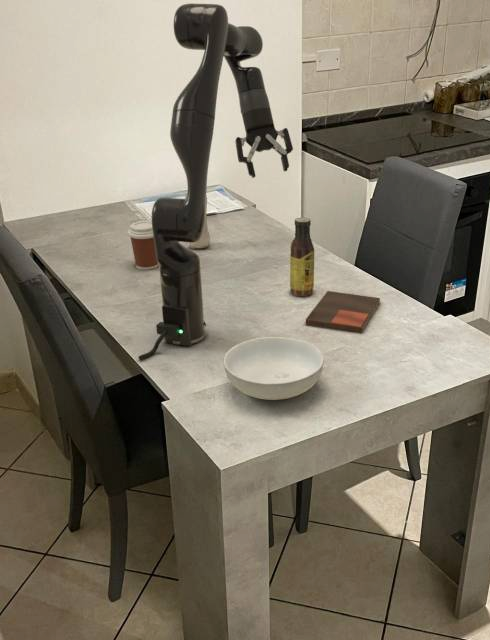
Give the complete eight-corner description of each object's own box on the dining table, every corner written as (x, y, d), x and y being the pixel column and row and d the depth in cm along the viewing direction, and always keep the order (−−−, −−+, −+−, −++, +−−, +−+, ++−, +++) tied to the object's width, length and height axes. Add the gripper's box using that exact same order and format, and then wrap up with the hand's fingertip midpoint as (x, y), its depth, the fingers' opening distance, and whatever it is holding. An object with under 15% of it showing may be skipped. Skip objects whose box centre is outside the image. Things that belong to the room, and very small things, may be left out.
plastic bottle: (213, 248, 239) (209, 182, 229) (191, 252, 237) (186, 185, 227) (207, 241, 245) (203, 176, 234) (185, 244, 242) (180, 179, 232)
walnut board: (361, 333, 191) (361, 327, 190) (305, 325, 195) (305, 319, 194) (379, 303, 205) (380, 297, 204) (327, 296, 209) (327, 290, 208)
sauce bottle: (308, 299, 208) (309, 225, 198) (286, 295, 210) (285, 222, 200) (317, 289, 213) (318, 217, 203) (295, 286, 215) (295, 214, 205)
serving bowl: (340, 377, 173) (341, 349, 169) (291, 423, 157) (291, 393, 154) (259, 354, 182) (258, 327, 178) (205, 396, 166) (203, 367, 163)
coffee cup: (125, 269, 226) (120, 228, 220) (140, 257, 234) (136, 218, 228) (154, 273, 224) (150, 231, 218) (168, 261, 231) (165, 221, 225)
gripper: (230, 112, 201) (244, 176, 203) (284, 101, 203) (298, 165, 205) (227, 119, 208) (241, 181, 210) (280, 109, 210) (294, 171, 212)
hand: (269, 173), depth 207 cm, fingers open, 8 cm apart
